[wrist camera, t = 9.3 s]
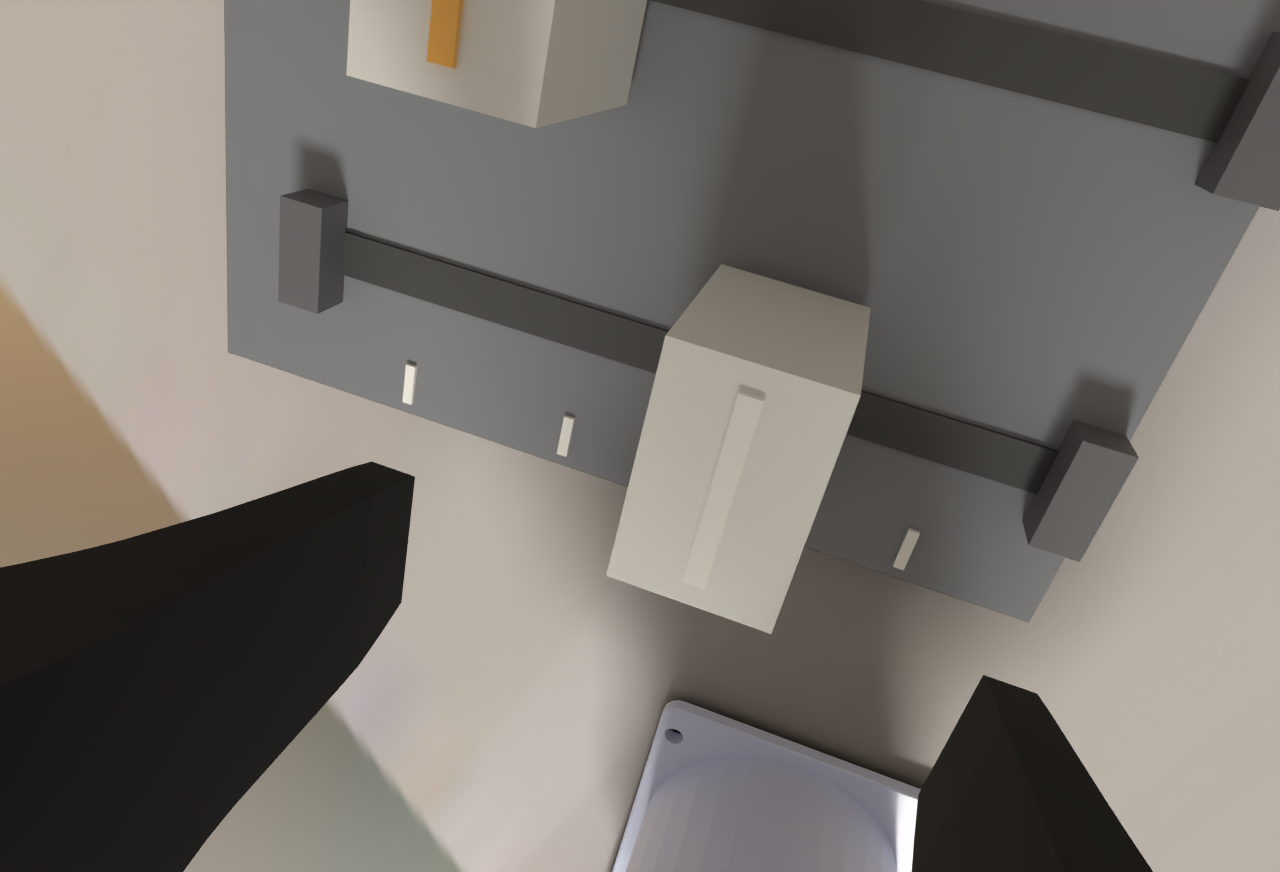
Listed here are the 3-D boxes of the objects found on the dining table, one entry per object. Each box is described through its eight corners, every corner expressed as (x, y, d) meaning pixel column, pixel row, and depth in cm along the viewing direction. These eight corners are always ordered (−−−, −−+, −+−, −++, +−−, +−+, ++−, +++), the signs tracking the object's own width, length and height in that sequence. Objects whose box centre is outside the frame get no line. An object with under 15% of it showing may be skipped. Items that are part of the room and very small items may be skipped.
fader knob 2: (799, 505, 19) (770, 638, 15) (668, 461, 19) (603, 579, 15) (870, 307, 17) (860, 398, 12) (721, 264, 17) (663, 337, 13)
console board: (1021, 591, 20) (1034, 651, 18) (259, 337, 23) (199, 365, 21) (1399, -111, 13) (1483, -136, 11) (264, -344, 16) (178, -395, 14)
